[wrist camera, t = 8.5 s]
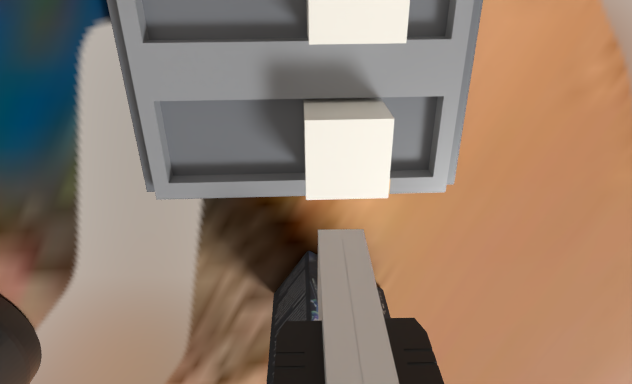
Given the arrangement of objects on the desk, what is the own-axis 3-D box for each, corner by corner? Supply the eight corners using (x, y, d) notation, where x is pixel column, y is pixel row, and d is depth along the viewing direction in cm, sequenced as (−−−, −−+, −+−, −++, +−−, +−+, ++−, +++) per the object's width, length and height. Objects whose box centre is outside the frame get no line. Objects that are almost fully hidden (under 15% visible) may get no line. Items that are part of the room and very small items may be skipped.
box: (384, 286, 37) (414, 395, 27) (345, 328, 39) (361, 442, 29) (307, 246, 35) (311, 349, 25) (271, 293, 37) (263, 404, 27)
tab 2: (304, 170, 30) (306, 200, 26) (303, 99, 28) (304, 120, 24) (376, 168, 30) (388, 197, 26) (380, 97, 28) (394, 118, 24)
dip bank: (152, 184, 31) (140, 201, 29) (95, -93, 24) (74, -100, 21) (448, 177, 32) (460, 193, 30) (489, -93, 24) (509, -100, 22)
